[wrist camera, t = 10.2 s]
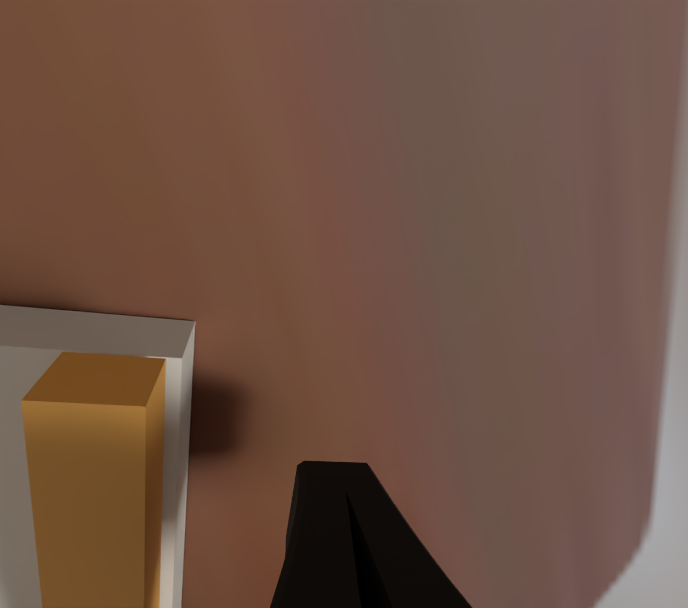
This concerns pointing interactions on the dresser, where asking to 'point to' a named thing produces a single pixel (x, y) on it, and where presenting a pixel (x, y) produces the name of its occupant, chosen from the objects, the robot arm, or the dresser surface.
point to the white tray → (9, 440)
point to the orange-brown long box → (97, 479)
